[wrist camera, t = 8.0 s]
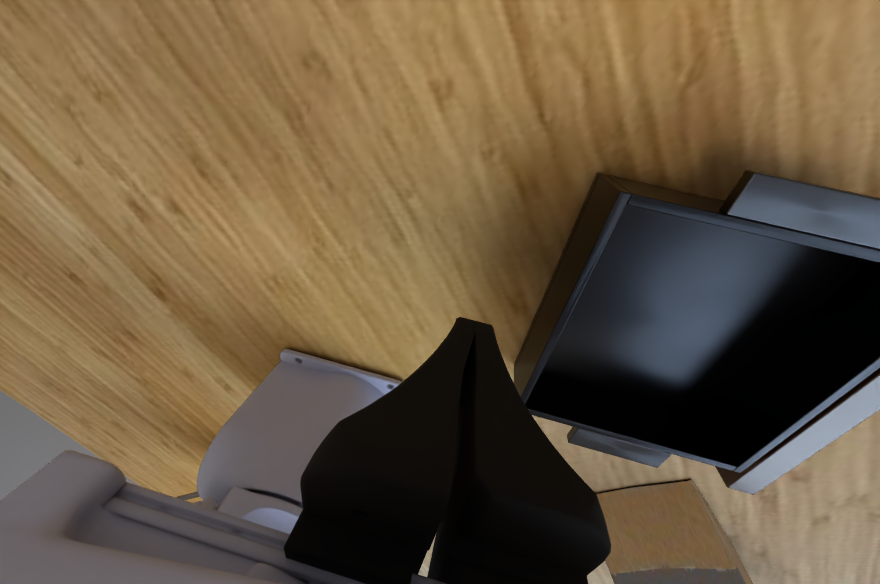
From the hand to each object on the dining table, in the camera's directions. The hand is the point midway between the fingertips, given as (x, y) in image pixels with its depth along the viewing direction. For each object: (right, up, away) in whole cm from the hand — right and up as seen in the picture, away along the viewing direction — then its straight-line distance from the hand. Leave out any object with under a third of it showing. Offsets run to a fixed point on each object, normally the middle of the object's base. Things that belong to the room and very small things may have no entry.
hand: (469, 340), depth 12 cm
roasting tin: (+10, +1, +4) cm, 11 cm away
